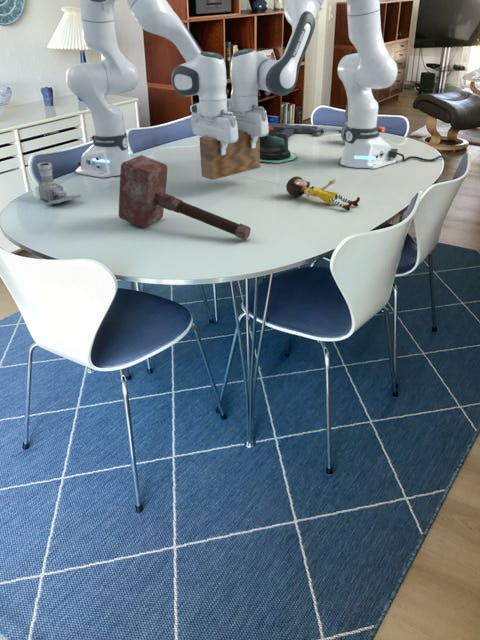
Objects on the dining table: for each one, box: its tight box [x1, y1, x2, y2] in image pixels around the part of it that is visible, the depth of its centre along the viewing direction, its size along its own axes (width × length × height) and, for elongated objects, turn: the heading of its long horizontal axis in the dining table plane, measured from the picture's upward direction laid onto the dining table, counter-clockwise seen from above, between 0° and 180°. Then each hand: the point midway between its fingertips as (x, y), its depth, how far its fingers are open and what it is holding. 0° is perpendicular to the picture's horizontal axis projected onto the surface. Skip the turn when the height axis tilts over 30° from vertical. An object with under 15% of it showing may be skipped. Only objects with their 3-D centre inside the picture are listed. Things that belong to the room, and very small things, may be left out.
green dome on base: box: [260, 132, 297, 164], centre depth 229 cm, size 15×19×20 cm
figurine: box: [285, 176, 361, 211], centre depth 178 cm, size 13×8×25 cm
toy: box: [338, 121, 347, 142], centre depth 244 cm, size 9×9×15 cm
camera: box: [37, 161, 82, 205], centre depth 182 cm, size 9×12×15 cm
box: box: [199, 130, 261, 181], centre depth 188 cm, size 21×6×13 cm, turn 131°
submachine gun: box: [268, 122, 325, 138], centre depth 263 cm, size 32×3×25 cm
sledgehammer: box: [118, 154, 252, 241], centre depth 157 cm, size 17×10×40 cm
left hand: (215, 152), depth 184 cm, fingers closed on box, 6 cm apart
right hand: (245, 146), depth 191 cm, fingers closed on box, 6 cm apart
